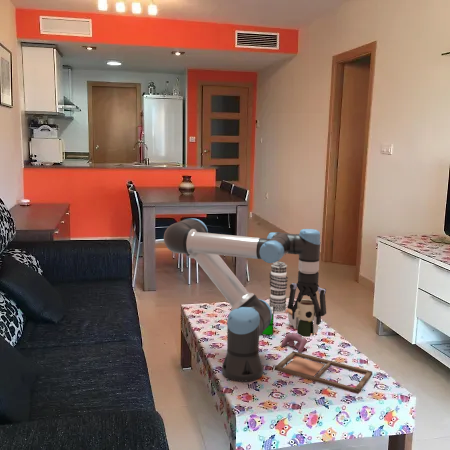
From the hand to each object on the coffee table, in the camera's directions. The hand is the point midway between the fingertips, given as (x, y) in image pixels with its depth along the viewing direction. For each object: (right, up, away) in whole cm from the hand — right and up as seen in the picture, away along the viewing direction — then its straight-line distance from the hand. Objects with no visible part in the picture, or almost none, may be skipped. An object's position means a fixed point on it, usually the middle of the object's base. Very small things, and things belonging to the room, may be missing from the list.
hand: (305, 329), depth 186 cm
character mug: (0, -2, 0) cm, 2 cm away
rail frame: (+6, -15, -1) cm, 17 cm away
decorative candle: (-4, -4, +64) cm, 65 cm away
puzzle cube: (-14, -9, +38) cm, 41 cm away
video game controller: (-2, -12, +20) cm, 23 cm away
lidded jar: (+4, -8, +43) cm, 44 cm away
